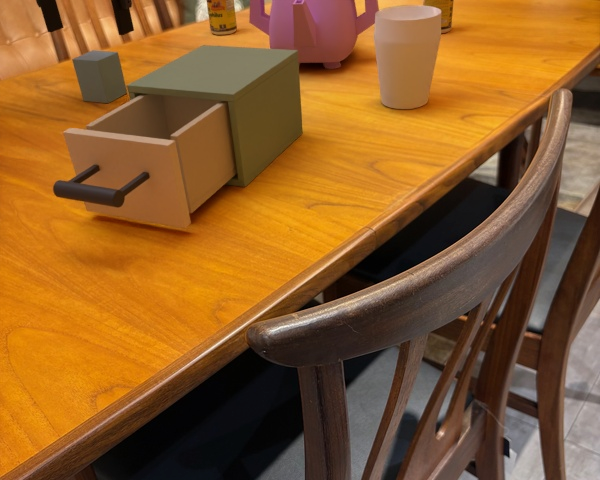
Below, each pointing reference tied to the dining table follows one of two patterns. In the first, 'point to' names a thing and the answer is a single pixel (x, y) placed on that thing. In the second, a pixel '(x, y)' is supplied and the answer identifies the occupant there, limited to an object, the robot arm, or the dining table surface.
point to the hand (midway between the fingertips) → (90, 31)
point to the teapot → (314, 27)
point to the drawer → (151, 159)
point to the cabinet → (239, 97)
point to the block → (100, 76)
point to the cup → (406, 53)
